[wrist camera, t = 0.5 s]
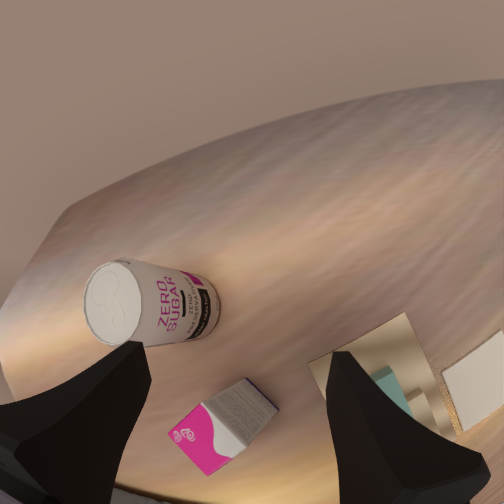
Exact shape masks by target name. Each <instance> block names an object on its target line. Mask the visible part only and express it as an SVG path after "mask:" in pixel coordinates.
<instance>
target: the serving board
mask: <svg viewBox="0 0 504 504" xmlns="http://www.w3.org/2000/svg"><path fill="white" fill-rule="evenodd" d="M110 504H172V503H169V502H164V501H158V500H156V499H151V498H148V497H145V496H140V495H136V494H133V493H131V492H126V491H124V490H121V489H117V488H114V487H113V492H112V497H111V502H110Z"/></svg>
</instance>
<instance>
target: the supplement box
mask: <svg viewBox="0 0 504 504" xmlns="http://www.w3.org/2000/svg"><path fill="white" fill-rule="evenodd" d="M278 411H279V409H278V408H277V407H276V406H275V405H274V404H273V403H272V402H271V401H270V400H269V399H268V398H267V397H266V396H264V395H263V394H262V393H261V392H260V391H259V390H258V389H257V387H256V386H255V385H253V384H252V382H250V381H249V380H248V379H247V378H244V379H242V380H240V381H238V382H237V383H235V384H233V385H231V386H230V387H228V388H226V389H224V390H222V391H221V392H219V393H217V394H215V395H214V396H212V397H210V398H208V399H206V400H204V401H203V402H201V403H200V404H199V405H198V406H197V407H196V408H194V409H193V410H192V411H191V412H190V413H189V414H188V415H187V416H186V417H185V418H184V419H183V420H182V421H181V422H179V423H178V424H177V425H176V426H175V427H174V428H173V429H172V430H171V431H170V432H168V435H169V436H170V438H171V439H172V440H173V441H174V442H175V443H176V444H177V445H178V446H179V447H180V448H181V449H182V450H183V452H184V453H185V454H186V455H187V456H188V457H189V458H190V459H191V460H192V461H193V462H194V463H195V464H196V465H197V466H198V467H199V468H200V469H201V471H202V472H203V473H204V474H205V475H206V476H208V475H211V474H212V473H214V472H215V471H217V470H218V469H219V468H221V467H222V466H224V465H225V464H226V463H228V462H229V461H230V460H232V459H233V458H234V457H236V456H237V455H238V454H240V453H241V452H242V451H243V450H245V449H246V448H247V447H248V446H249V445H250V443H251V442H252V441H253V440H254V439H255V438H256V437H257V435H258V434H259V433H260V432H261V431H262V430H263V428H264V427H265V426H266V425H267V424H268V423H269V421H270V420H271V419H272V418H273V417H274V415H275V414H276V413H277V412H278Z"/></svg>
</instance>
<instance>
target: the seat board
mask: <svg viewBox="0 0 504 504" xmlns="http://www.w3.org/2000/svg"><path fill="white" fill-rule="evenodd" d="M334 351H349V352H350V353H351V354H352V355H353V357H354V358H355V359H356V360H357V362H358V363H359V364H360V365H361V366H362V368H363V369H364V370H365V371H366V373H367V374H368V375H371V374H373V373H375V372H377V371H379V370H381V369H383V368H384V367H386V366H388V365H389V366H390V368H391V369H392V371H393V372H394V374H395V376H396V378H397V381H398V383H399V385H400V387H401V390H402V392H403V394H404V396H405V399H406V401H407V403H408V406H409V408H410V410H411V413H412V415H413V417H414V419H415V420H417V421H418V422H419V423H421V424H422V425H424V426H425V427H427V428H428V429H430V430H432V431H433V432H435V433H437V434H438V435H440V436H442V437H444V438H446V439H448V440H450V441H452V442H453V441H455V440H457V437H456V434H455V431H454V428H453V425H452V422H451V420H450V417H449V414H448V411H447V409H446V406H445V403H444V401H443V398H442V396H441V393H440V391H439V388H438V386H437V383H436V381H435V378H434V376H433V374H432V371H431V369H430V366H429V364H428V362H427V360H426V357H425V355H424V353H423V350H422V348H421V346H420V344H419V342H418V339H417V337H416V335H415V333H414V331H413V329H412V327H411V325H410V323H409V320H408V318H407V316H406V314H405V312H403V313H401V314H400V315H398V316H396V317H395V318H393V319H391V320H389V321H388V322H386V323H384V324H383V325H381V326H379V327H377V328H375V329H374V330H372V331H370V332H368V333H367V334H365V335H363V336H361V337H359V338H357V339H355V340H354V341H352V342H350V343H348V344H346V345H344V346H342V347H340V348H338V349H336V350H334ZM332 353H333V351H332V352H330V353H328V354H326V355H324V356H322V357H320V358H318V359H316V360H314V361H312V362H310V363H308V366H309V368H310V370H311V372H312V374H313V376H314V378H315V380H316V382H317V384H318V386H319V388H320V390H321V392H322V395H323V397H324V399H325V401H326V392H325V390H326V385H327V380H328V375H329V370H330V364H331V359H332Z"/></svg>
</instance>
